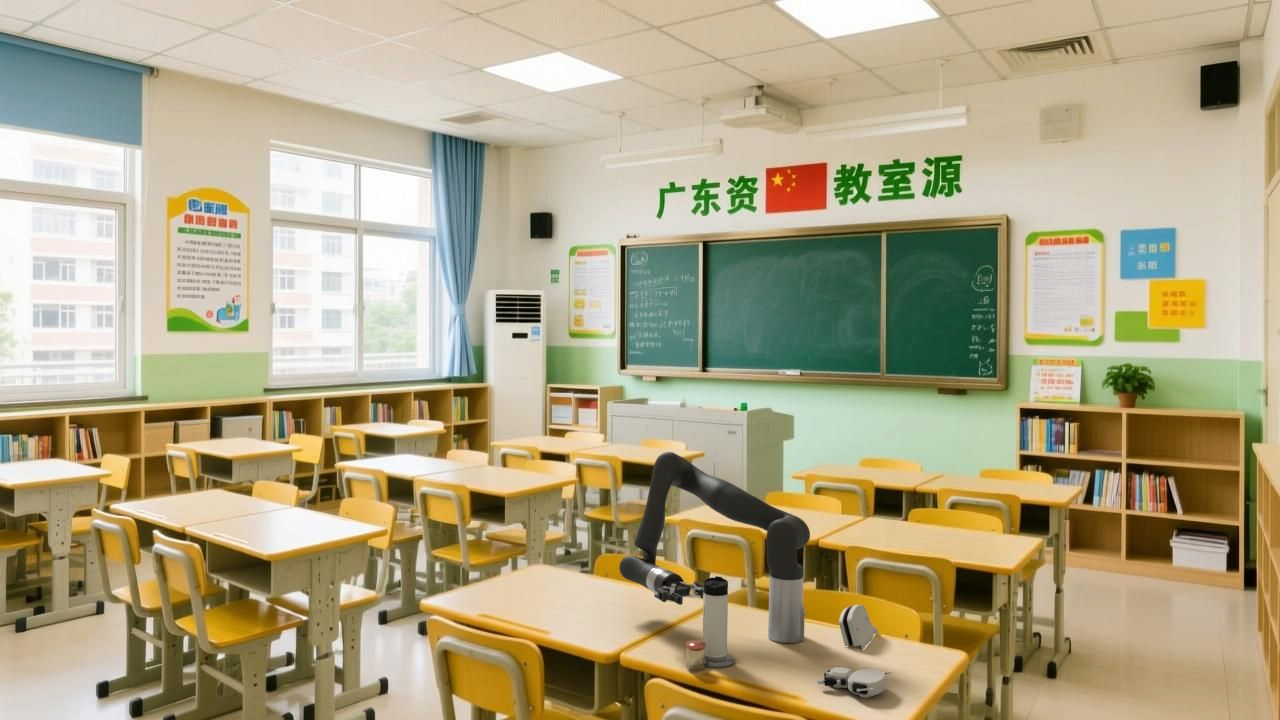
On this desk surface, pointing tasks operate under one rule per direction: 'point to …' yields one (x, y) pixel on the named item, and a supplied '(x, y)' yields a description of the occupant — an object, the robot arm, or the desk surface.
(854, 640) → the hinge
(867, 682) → the robot toy
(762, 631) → the desk surface
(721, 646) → the travel mug
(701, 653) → the grey base with jar
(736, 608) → the desk surface
